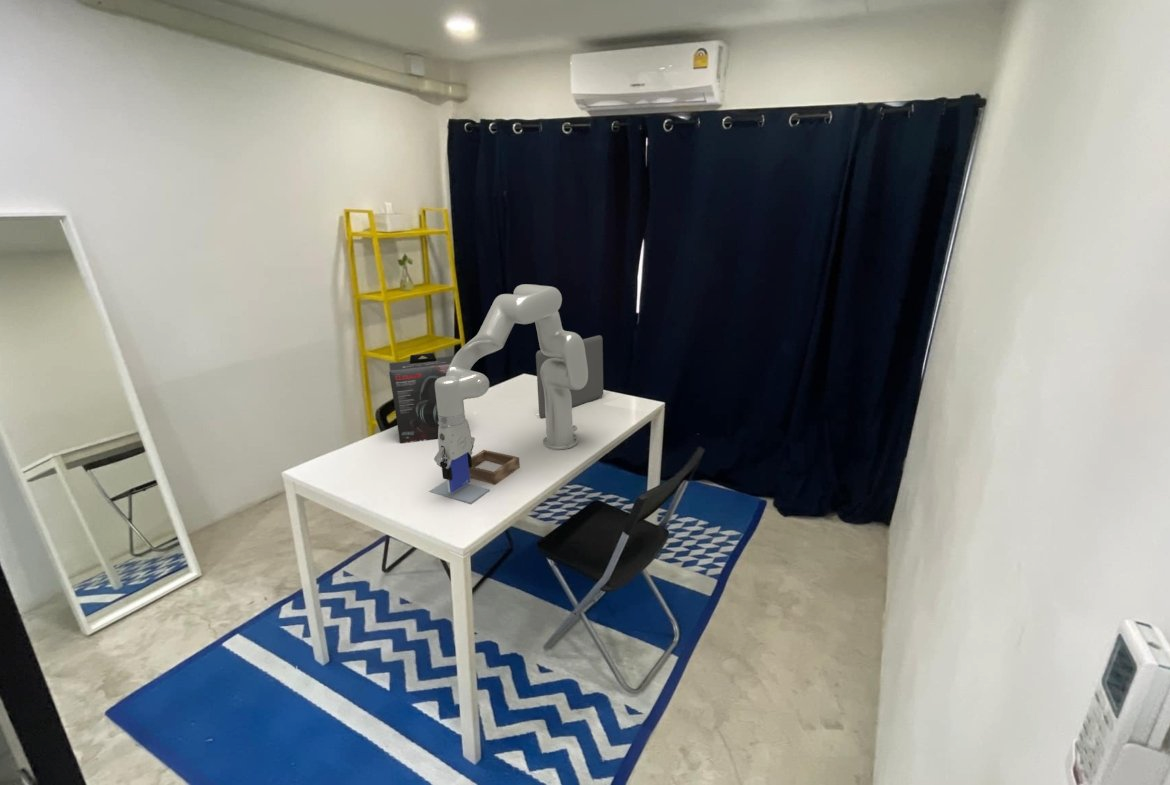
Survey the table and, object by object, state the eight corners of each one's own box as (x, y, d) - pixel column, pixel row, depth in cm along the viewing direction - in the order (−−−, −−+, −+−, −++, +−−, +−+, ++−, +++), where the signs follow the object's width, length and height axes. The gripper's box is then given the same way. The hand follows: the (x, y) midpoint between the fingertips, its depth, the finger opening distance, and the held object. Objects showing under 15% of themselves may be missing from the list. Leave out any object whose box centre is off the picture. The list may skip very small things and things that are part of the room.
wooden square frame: (484, 460, 190) (483, 449, 189) (519, 468, 184) (519, 457, 182) (459, 476, 179) (457, 465, 178) (495, 485, 173) (494, 473, 171)
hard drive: (470, 481, 171) (467, 444, 167) (451, 493, 165) (447, 454, 161) (467, 480, 172) (463, 443, 168) (447, 491, 165) (443, 453, 162)
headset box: (399, 449, 202) (387, 361, 191) (398, 436, 213) (387, 352, 203) (467, 438, 209) (459, 353, 199) (463, 427, 220) (455, 346, 210)
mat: (449, 481, 176) (448, 478, 176) (490, 491, 169) (489, 489, 169) (429, 493, 169) (429, 491, 168) (471, 504, 161) (470, 502, 161)
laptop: (560, 386, 269) (557, 326, 260) (604, 399, 250) (603, 334, 240) (496, 406, 244) (491, 341, 235) (541, 422, 224) (537, 351, 215)
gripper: (441, 431, 152) (448, 487, 158) (481, 410, 167) (485, 463, 172) (420, 426, 156) (428, 482, 161) (461, 407, 170) (466, 459, 176)
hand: (457, 472), depth 167 cm, fingers closed on hard drive, 8 cm apart
